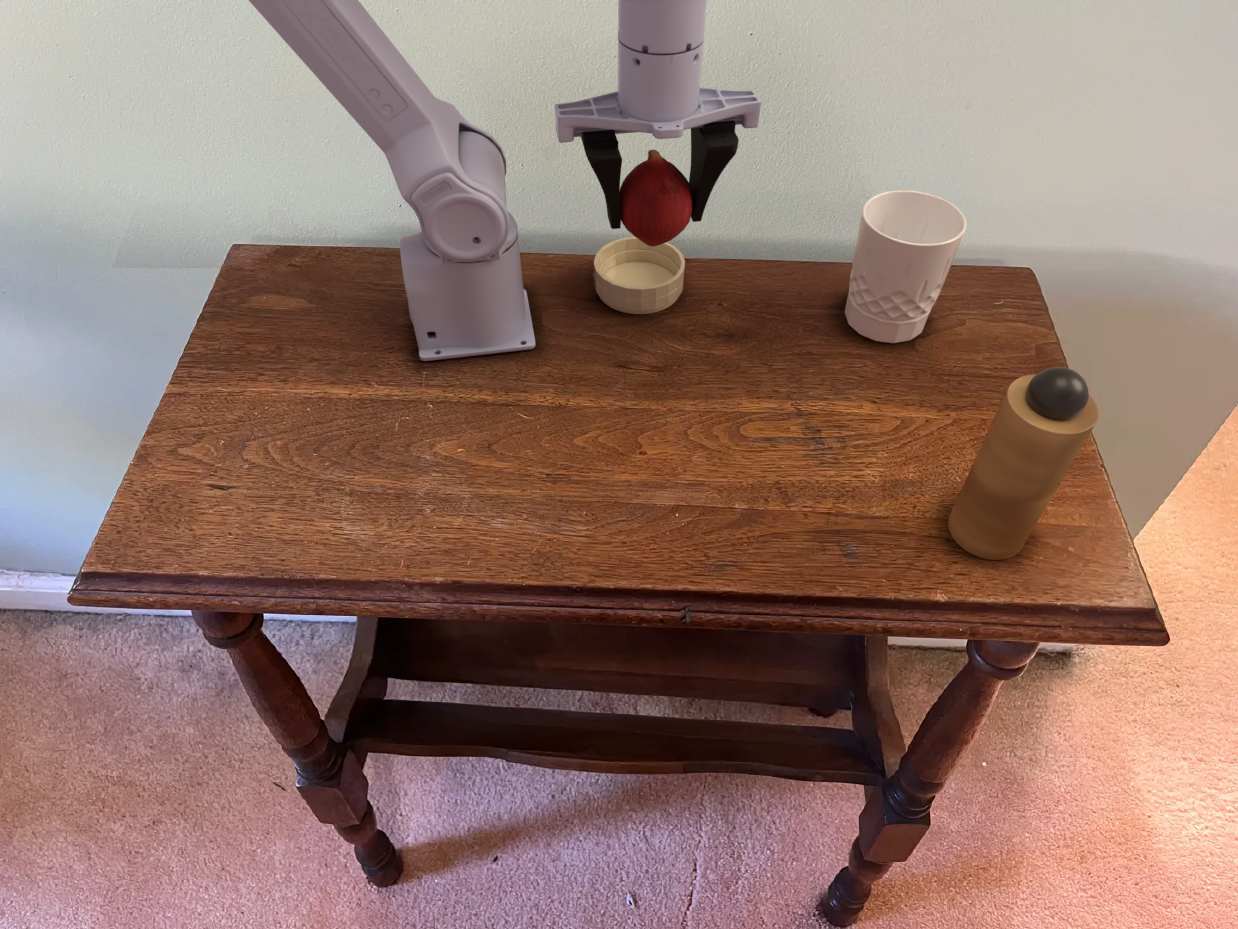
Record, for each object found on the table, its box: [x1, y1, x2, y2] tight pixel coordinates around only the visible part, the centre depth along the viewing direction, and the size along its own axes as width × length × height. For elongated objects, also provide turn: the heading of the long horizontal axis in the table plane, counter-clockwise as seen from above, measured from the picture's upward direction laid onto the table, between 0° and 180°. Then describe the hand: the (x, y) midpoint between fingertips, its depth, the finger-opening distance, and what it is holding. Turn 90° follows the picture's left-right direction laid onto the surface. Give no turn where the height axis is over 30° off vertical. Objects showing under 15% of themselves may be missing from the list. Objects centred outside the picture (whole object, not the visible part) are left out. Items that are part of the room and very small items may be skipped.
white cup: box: [844, 189, 968, 344], centre depth 70 cm, size 8×8×10 cm
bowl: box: [593, 236, 686, 315], centre depth 75 cm, size 8×8×3 cm
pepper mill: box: [947, 366, 1099, 561], centre depth 53 cm, size 5×5×14 cm
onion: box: [619, 149, 693, 247], centre depth 66 cm, size 6×6×8 cm
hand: (653, 218), depth 67 cm, fingers closed on onion, 6 cm apart
